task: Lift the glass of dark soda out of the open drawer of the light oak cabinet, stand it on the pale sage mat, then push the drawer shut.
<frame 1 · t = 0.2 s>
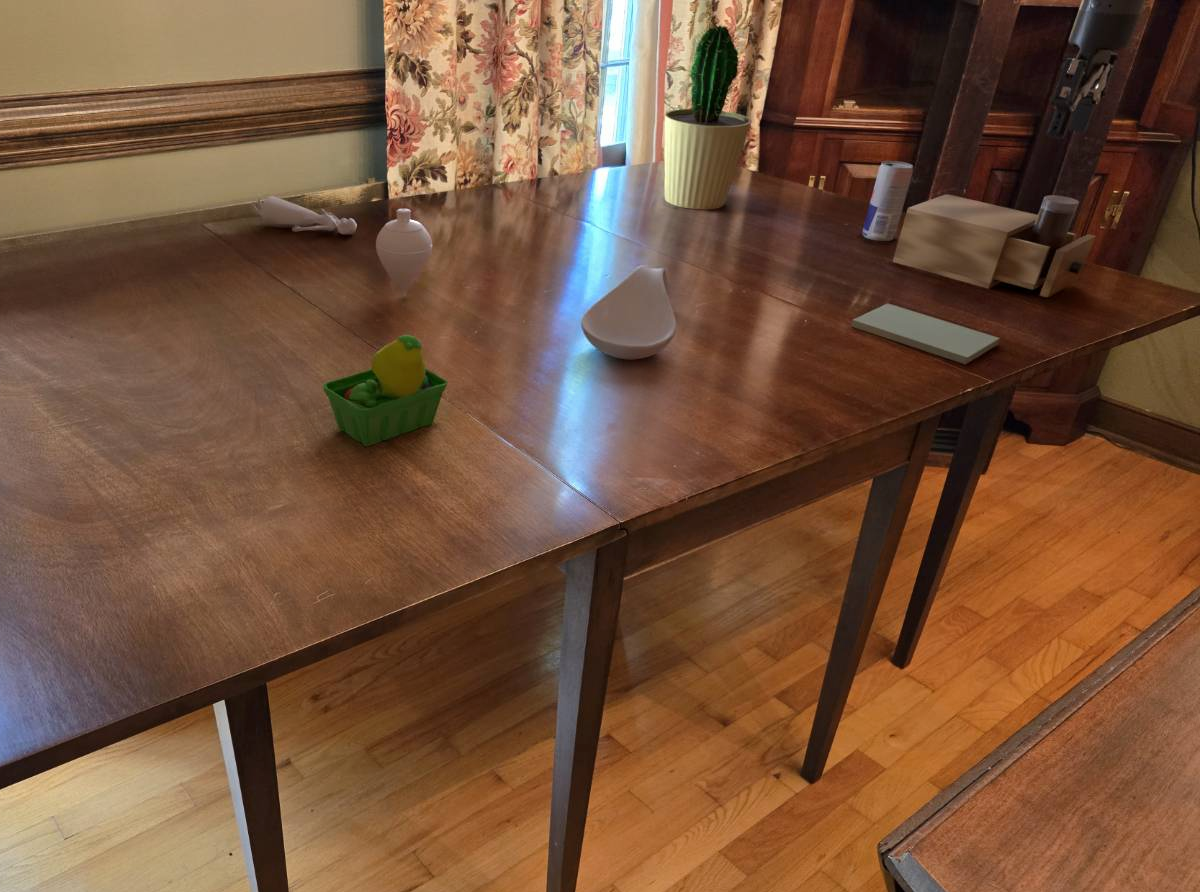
hand: (1065, 134, 140), 21 cm above the table, tool pointing down, fingers open, 8 cm apart
potted cactus: (694, 202, 181), on the table
spinning top: (404, 298, 134), on the table
drawer: (1026, 254, 146), point 4 cm above the table, slide at 7.0 cm, touching glass of dark soda
fruit basket: (390, 430, 102), on the table
woman figurine: (305, 229, 158), on the table
spoon rest: (633, 336, 126), on the table
mat: (923, 335, 129), on the table
energy drink: (877, 238, 166), on the table
cabinet: (957, 266, 154), on the table
glass of dark soda: (1034, 273, 147), point 2 cm above the table, touching drawer
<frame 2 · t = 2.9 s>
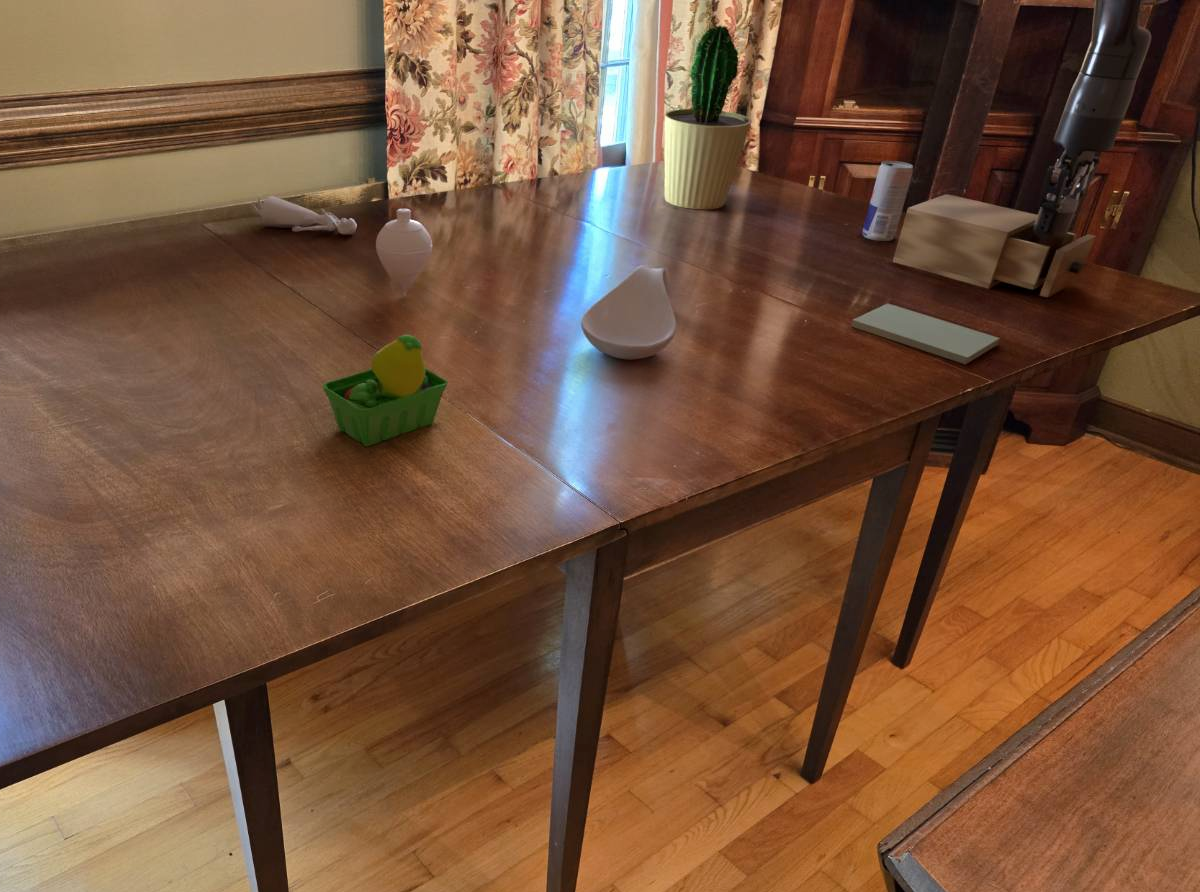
hand: (1049, 232, 143), 8 cm above the table, tool pointing down, fingers closed on glass of dark soda, 4 cm apart
glass of dark soda: (1034, 273, 147), point 2 cm above the table, touching drawer, gripper
everything else where it was.
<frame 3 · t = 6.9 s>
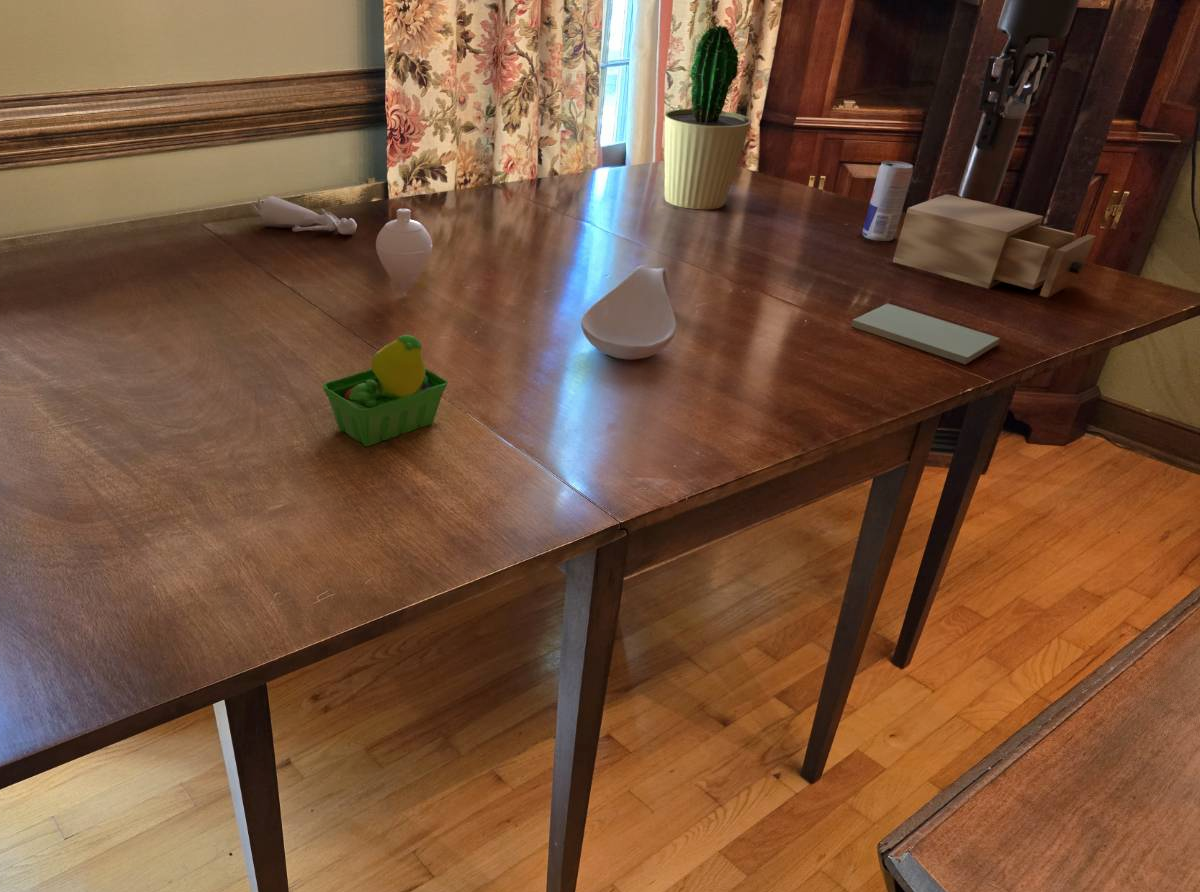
hand: (994, 145, 118), 24 cm above the table, tool pointing down, fingers closed on glass of dark soda, 4 cm apart
drawer: (1026, 254, 146), point 4 cm above the table, slide at 7.0 cm
glass of dark soda: (976, 196, 122), point 18 cm above the table, touching gripper
everything else where it was.
when the fingers open (7 cm above the table, at t = 11.3 s): glass of dark soda stays where it is, resting on mat.
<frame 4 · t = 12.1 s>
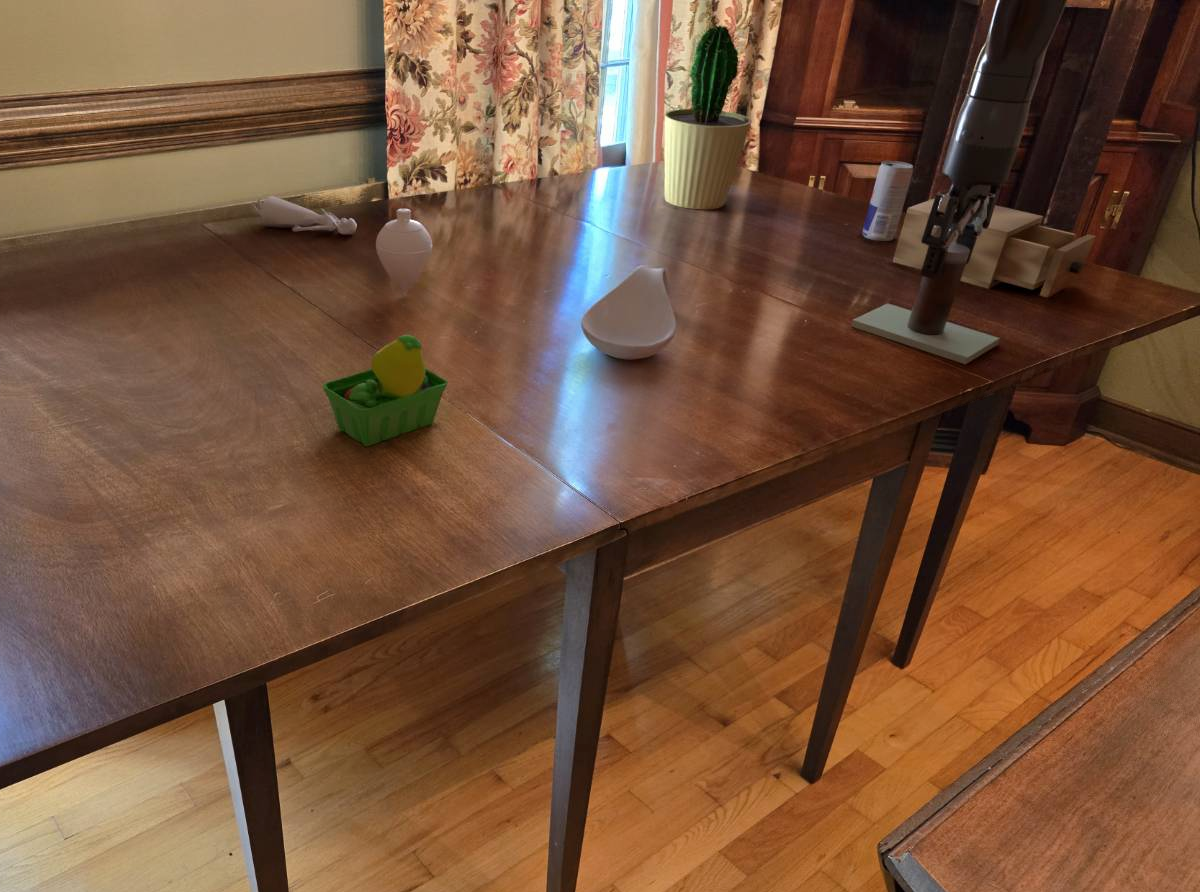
hand: (944, 270, 124), 9 cm above the table, tool pointing down, fingers open, 8 cm apart
glass of dark soda: (925, 328, 129), point 1 cm above the table, touching mat
everything else where it was.
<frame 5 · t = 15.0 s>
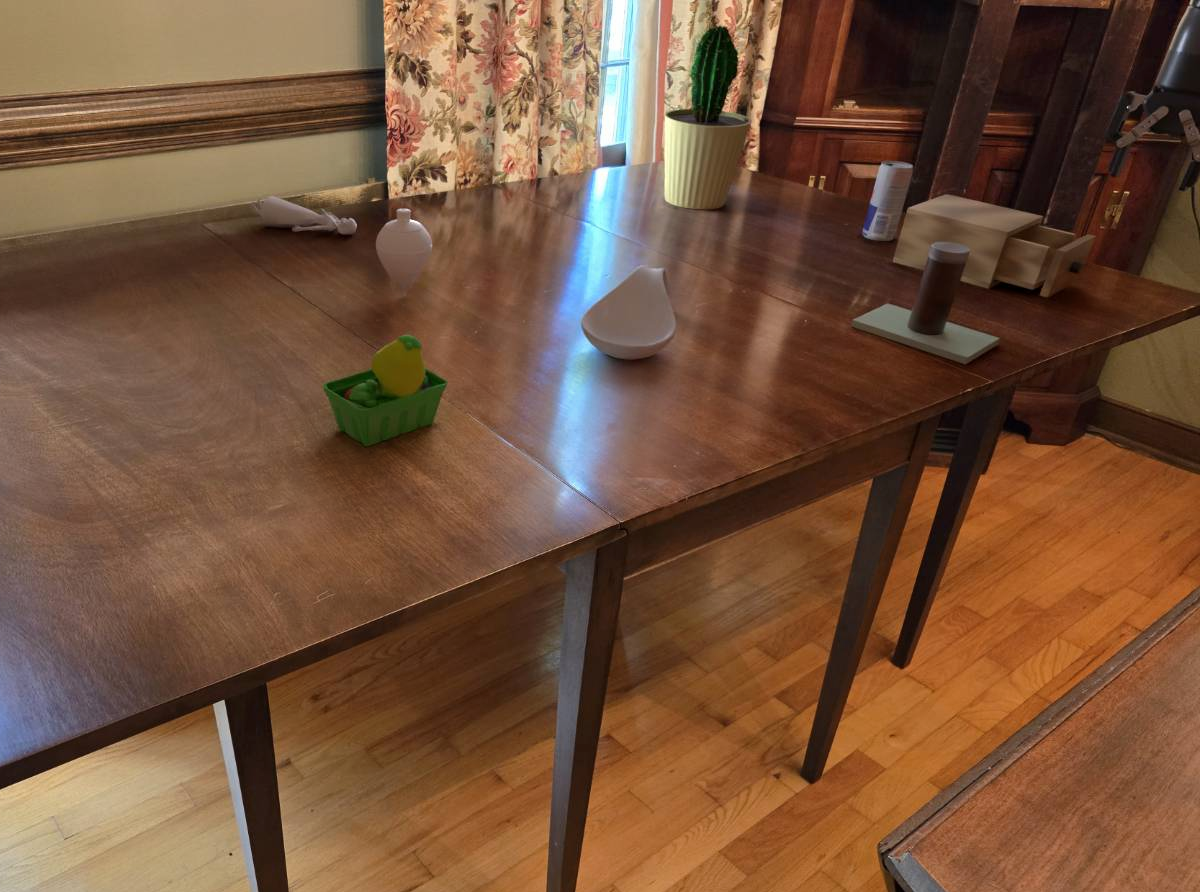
hand: (1148, 183, 129), 18 cm above the table, tool pointing down, fingers open, 8 cm apart
nothing on the table moved.
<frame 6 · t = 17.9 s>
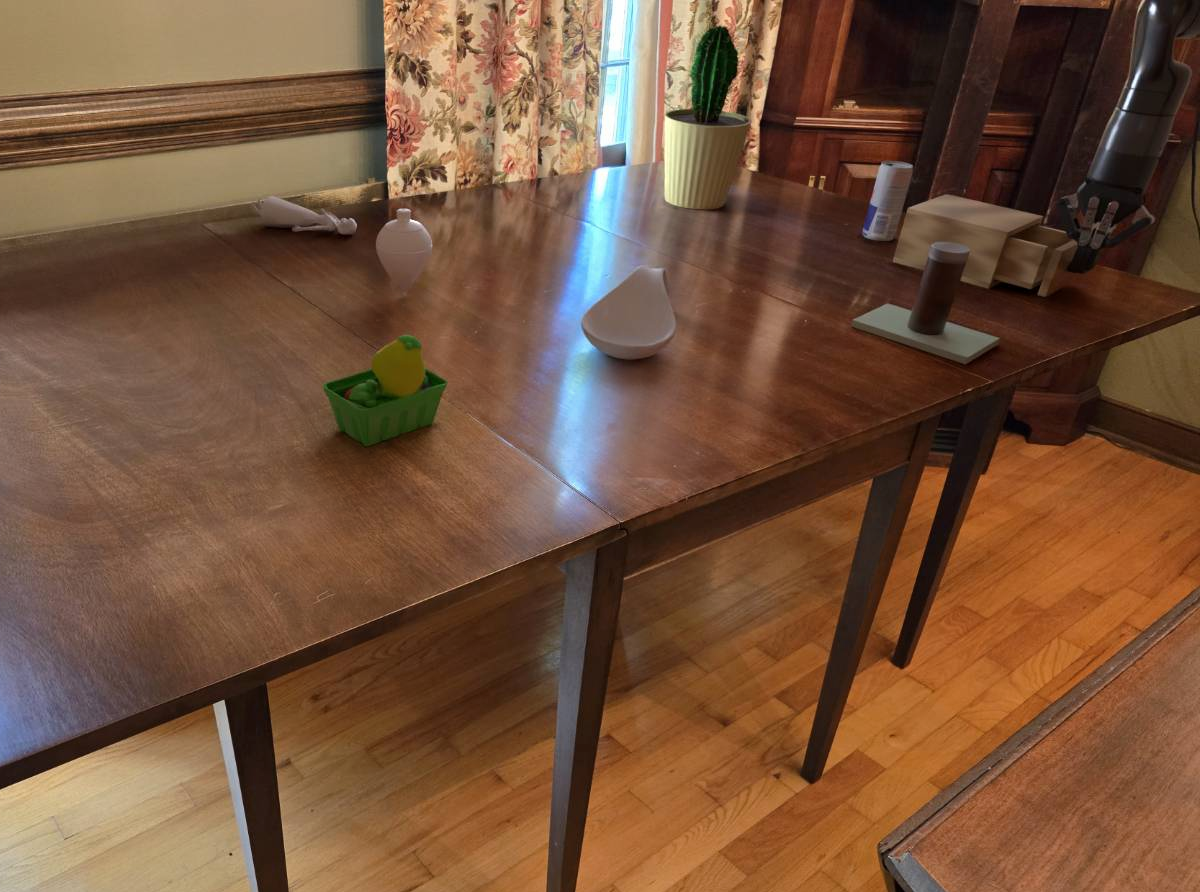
hand: (1080, 271, 139), 5 cm above the table, tool pointing down, fingers closed
drawer: (1024, 254, 147), point 4 cm above the table, slide at 6.7 cm, touching gripper
everything else where it was.
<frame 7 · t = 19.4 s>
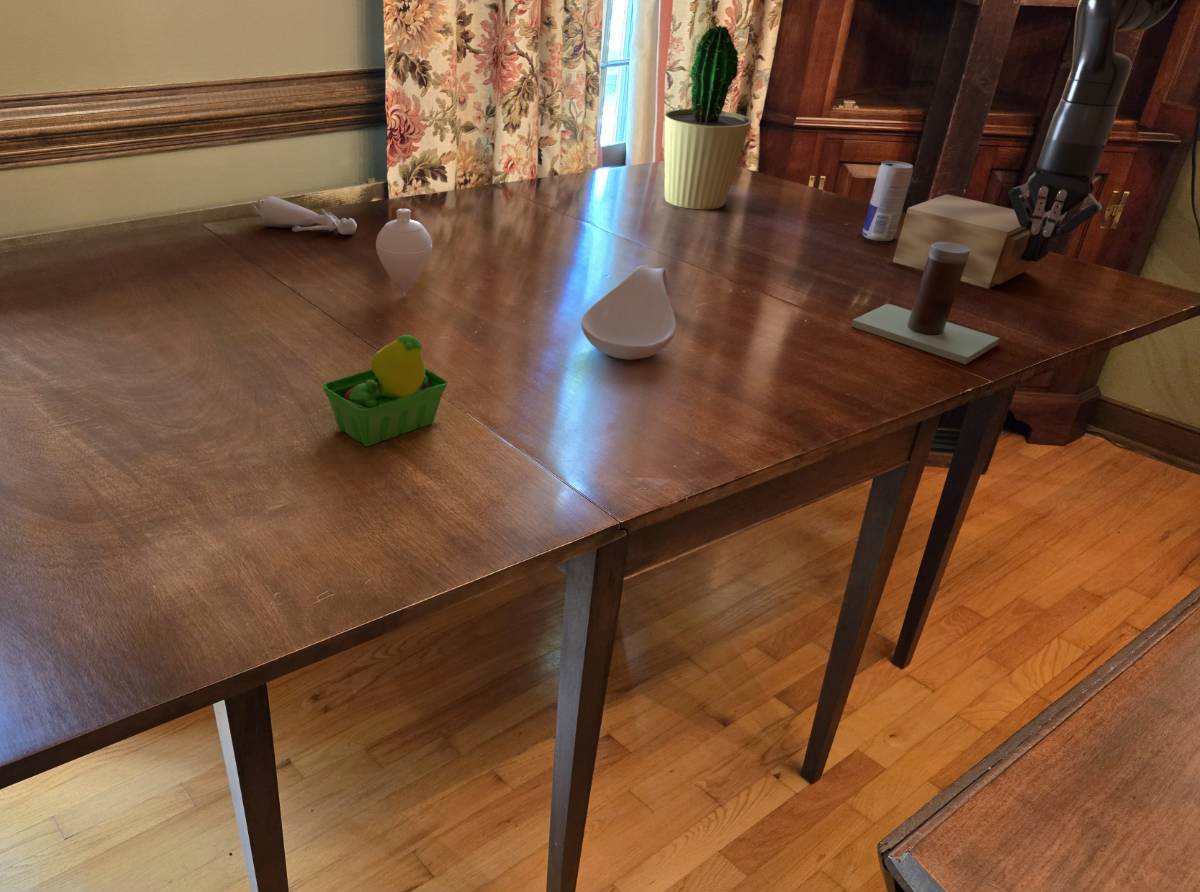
hand: (1033, 259, 143), 5 cm above the table, tool pointing down, fingers closed
drawer: (981, 243, 151), point 4 cm above the table, slide at 0.0 cm, touching cabinet, gripper
everything else where it was.
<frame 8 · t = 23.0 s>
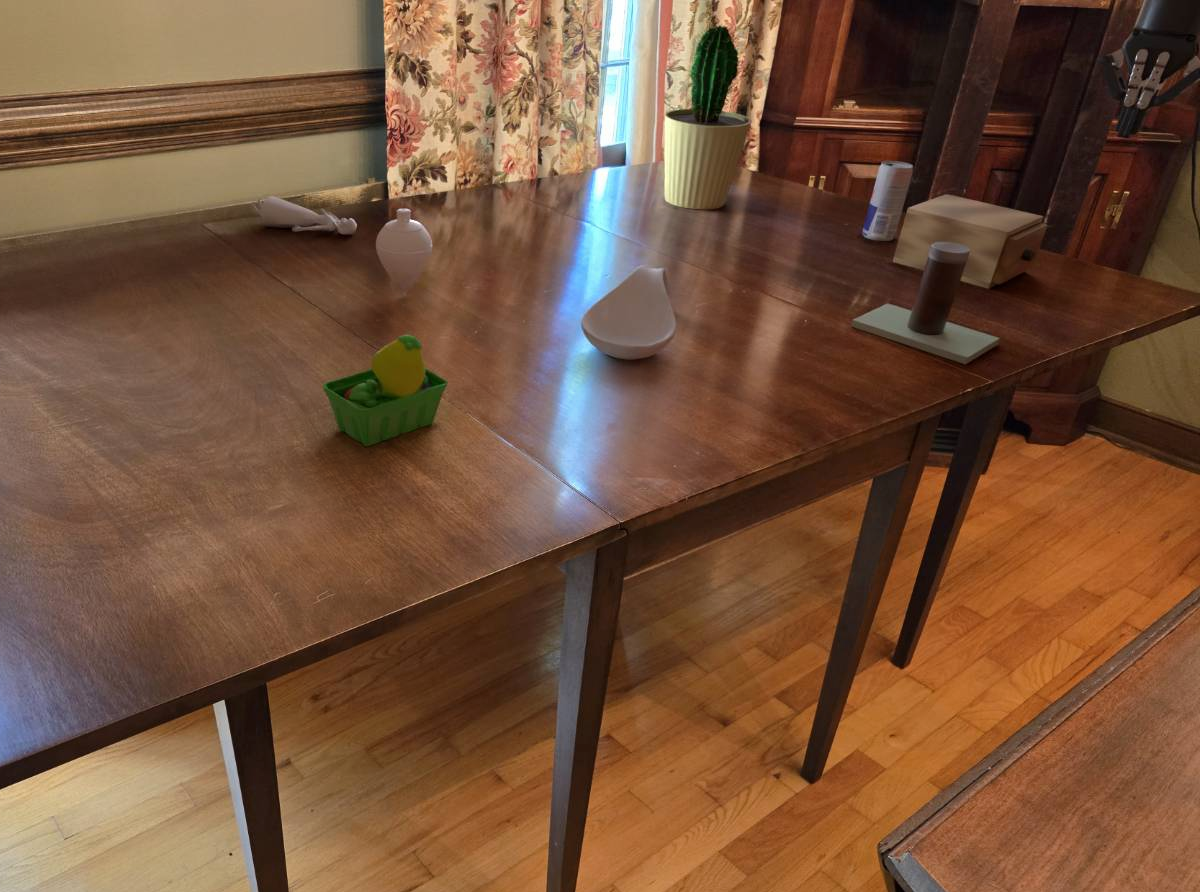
hand: (1125, 137, 130), 23 cm above the table, tool pointing down, fingers closed
drawer: (981, 243, 151), point 4 cm above the table, slide at 0.0 cm
everything else where it was.
at the end: glass of dark soda inside the target area on the mat (0.0 cm from its centre), point 1.0 cm above the mat's base; glass of dark soda tilted 0°; drawer slide at 0.0 cm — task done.
